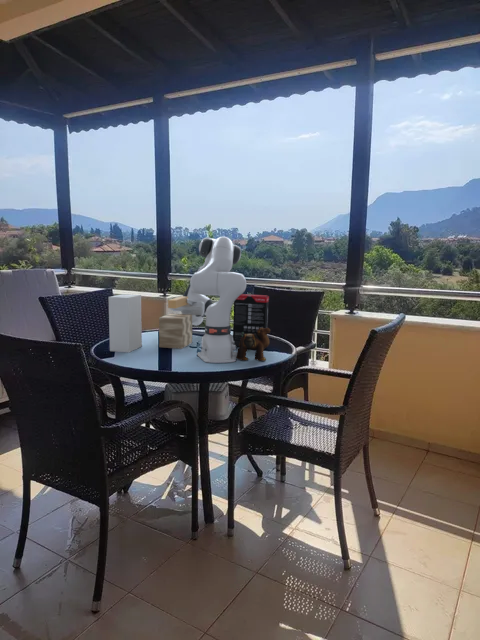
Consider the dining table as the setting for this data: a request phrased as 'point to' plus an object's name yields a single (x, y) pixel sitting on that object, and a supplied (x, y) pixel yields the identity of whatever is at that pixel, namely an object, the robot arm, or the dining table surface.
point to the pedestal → (175, 330)
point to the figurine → (253, 344)
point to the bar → (177, 302)
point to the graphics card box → (249, 315)
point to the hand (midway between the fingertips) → (182, 300)
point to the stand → (125, 323)
